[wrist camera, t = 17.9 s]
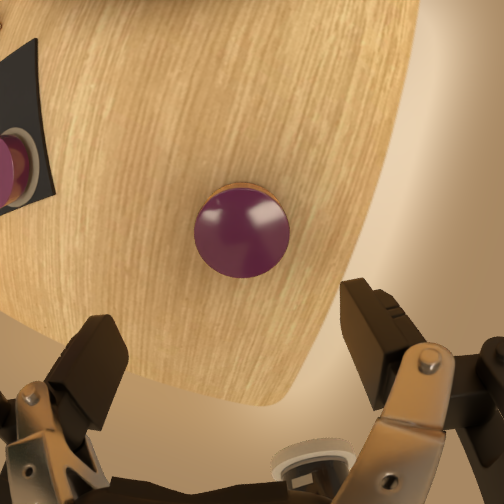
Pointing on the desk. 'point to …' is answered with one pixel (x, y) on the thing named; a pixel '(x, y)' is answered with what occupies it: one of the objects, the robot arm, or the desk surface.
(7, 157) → the purple flat round disc
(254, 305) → the desk surface
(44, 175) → the placemat
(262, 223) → the dish
